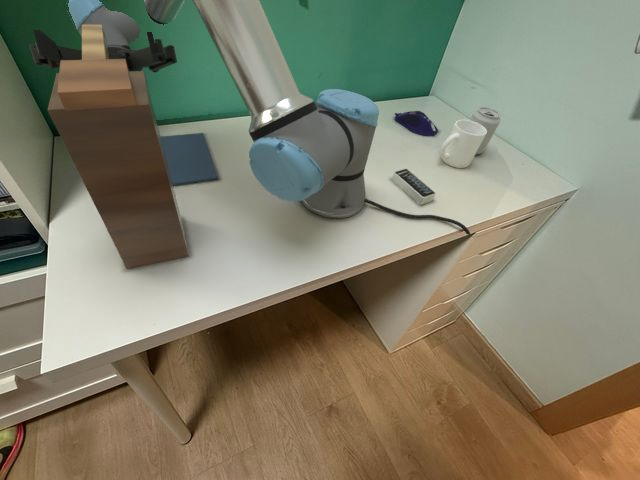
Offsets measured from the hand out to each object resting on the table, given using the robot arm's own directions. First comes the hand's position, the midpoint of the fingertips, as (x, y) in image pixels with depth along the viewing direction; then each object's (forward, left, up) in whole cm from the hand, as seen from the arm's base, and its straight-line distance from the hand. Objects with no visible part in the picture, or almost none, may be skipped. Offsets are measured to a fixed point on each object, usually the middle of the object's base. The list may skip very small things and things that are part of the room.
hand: (98, 41), depth 46 cm
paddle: (-4, +4, -1) cm, 6 cm away
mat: (+6, -15, -29) cm, 34 cm away
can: (-53, -71, -30) cm, 93 cm away
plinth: (-9, +7, -29) cm, 32 cm away
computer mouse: (-34, -73, -27) cm, 85 cm away
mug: (-49, -60, -30) cm, 83 cm away
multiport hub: (-44, -40, -30) cm, 66 cm away
